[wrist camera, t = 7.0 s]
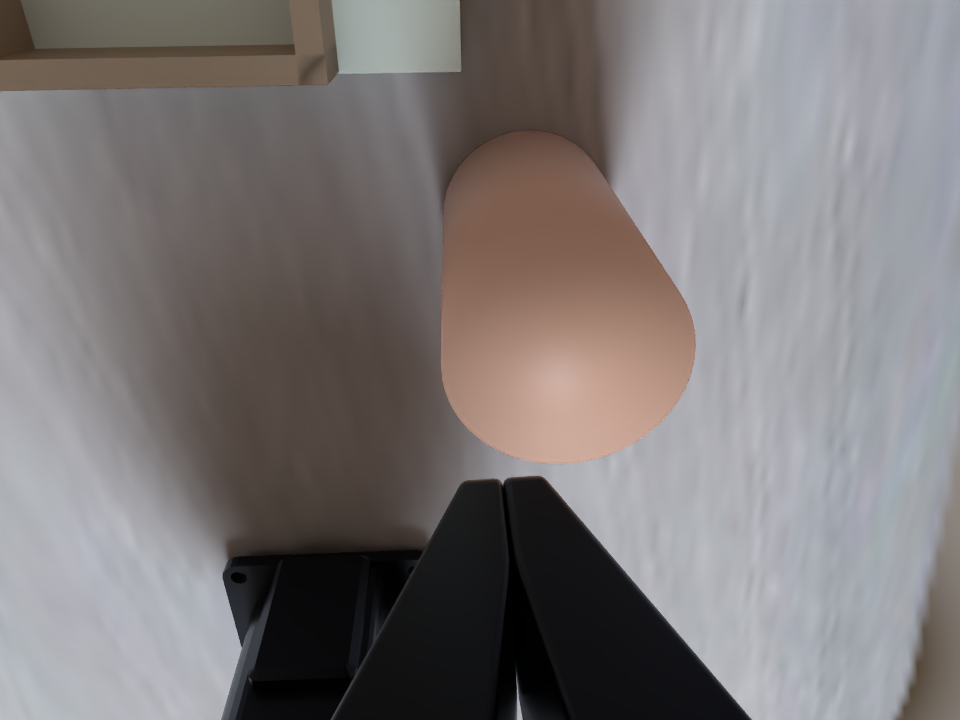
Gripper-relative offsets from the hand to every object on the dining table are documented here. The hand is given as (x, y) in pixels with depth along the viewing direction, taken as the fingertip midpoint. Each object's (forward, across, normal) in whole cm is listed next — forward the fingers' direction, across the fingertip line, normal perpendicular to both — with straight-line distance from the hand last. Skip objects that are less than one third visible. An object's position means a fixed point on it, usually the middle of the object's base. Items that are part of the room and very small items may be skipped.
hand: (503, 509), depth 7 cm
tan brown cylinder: (+11, -1, +1) cm, 11 cm away
